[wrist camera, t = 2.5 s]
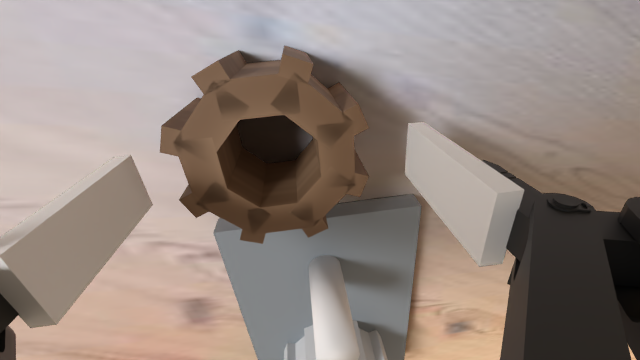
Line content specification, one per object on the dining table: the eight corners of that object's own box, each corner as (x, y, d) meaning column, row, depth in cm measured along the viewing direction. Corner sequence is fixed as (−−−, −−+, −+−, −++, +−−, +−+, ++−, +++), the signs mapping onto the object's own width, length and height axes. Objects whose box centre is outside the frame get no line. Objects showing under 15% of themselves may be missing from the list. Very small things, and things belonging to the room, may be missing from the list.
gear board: (218, 218, 20) (180, 325, 13) (412, 194, 20) (478, 282, 13) (268, 370, 29) (262, 477, 22) (398, 350, 30) (431, 448, 23)
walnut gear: (175, 56, 14) (127, 70, 10) (345, 39, 15) (369, 44, 11) (220, 200, 19) (199, 252, 15) (350, 183, 19) (369, 229, 15)
